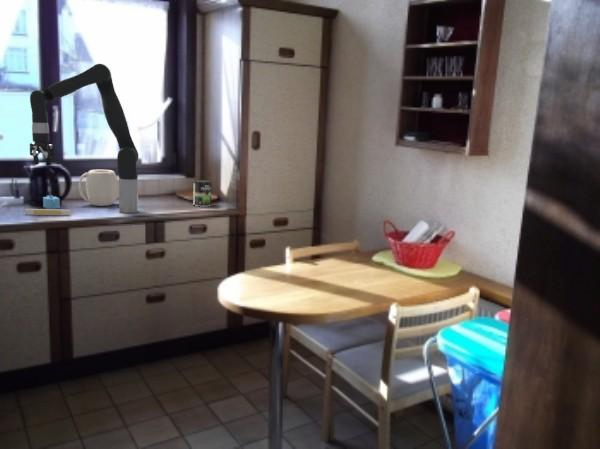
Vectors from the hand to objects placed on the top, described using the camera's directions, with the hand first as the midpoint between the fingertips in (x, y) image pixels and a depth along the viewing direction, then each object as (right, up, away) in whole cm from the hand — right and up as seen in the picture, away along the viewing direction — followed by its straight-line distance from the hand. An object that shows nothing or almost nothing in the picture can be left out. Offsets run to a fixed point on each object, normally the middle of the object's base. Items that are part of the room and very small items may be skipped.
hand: (42, 165), depth 280 cm
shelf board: (+7, -25, -6) cm, 27 cm away
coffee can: (+72, -19, +43) cm, 86 cm away
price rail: (+8, -25, -11) cm, 28 cm away
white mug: (+20, -19, +30) cm, 41 cm away
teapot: (+1, -22, +7) cm, 23 cm away
